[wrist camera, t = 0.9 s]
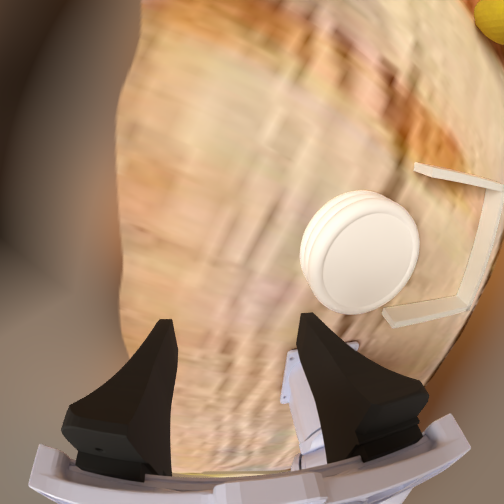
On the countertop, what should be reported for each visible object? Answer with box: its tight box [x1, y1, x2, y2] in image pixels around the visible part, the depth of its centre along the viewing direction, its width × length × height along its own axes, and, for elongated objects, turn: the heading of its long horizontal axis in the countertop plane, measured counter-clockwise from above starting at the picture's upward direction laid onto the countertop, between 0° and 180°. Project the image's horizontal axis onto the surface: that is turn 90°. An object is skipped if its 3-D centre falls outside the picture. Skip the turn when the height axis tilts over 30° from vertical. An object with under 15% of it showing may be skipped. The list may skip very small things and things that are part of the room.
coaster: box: [300, 190, 420, 315], centre depth 21 cm, size 10×10×4 cm
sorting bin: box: [382, 162, 504, 329], centre depth 23 cm, size 16×13×2 cm
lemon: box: [474, 0, 504, 45], centre depth 10 cm, size 6×6×8 cm
